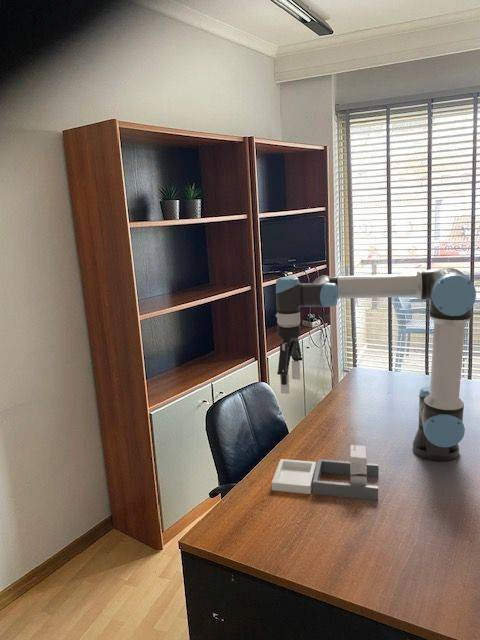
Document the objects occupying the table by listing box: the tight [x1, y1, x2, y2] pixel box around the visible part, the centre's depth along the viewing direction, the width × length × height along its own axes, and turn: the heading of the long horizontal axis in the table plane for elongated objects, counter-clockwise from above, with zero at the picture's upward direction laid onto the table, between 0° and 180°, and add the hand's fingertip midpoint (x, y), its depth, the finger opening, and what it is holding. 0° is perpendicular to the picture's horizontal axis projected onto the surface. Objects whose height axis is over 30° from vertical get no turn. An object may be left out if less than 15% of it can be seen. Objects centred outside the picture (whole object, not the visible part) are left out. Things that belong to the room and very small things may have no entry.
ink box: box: [349, 444, 368, 485], centre depth 158 cm, size 9×5×12 cm, turn 168°
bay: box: [312, 458, 380, 501], centre depth 160 cm, size 19×14×4 cm
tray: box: [271, 458, 317, 495], centre depth 164 cm, size 12×15×3 cm
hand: (291, 386), depth 171 cm, fingers open, 13 cm apart
